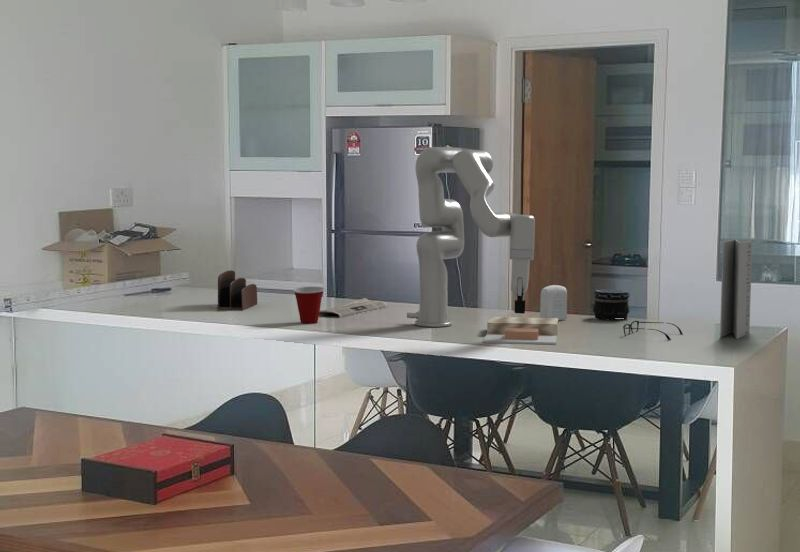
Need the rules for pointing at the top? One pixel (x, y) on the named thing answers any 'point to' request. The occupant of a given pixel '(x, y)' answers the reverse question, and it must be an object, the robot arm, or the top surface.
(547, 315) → the photo printer
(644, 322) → the eyeglasses
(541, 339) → the mat
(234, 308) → the letter holder
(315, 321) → the plastic cup
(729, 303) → the brochure
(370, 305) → the newspaper
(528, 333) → the tile
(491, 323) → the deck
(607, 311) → the container
